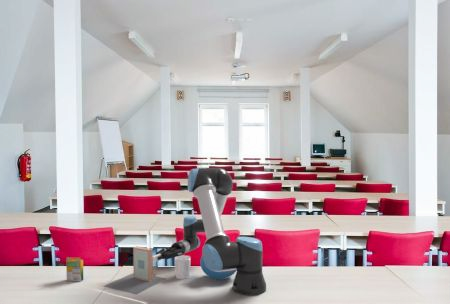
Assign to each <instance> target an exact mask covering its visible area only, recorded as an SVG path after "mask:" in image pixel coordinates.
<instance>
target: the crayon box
mask: <svg viewBox="0 0 450 304" xmlns="http://www.w3.org/2000/svg"><path fill="white" fill-rule="evenodd" d="M65 262H66V264H65V265H66V282H82V281H83V280H84V259H81V257H69V256H67V257H66V260H65Z"/></svg>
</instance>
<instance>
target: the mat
mask: <svg viewBox="0 0 450 304" xmlns="http://www.w3.org/2000/svg"><path fill="white" fill-rule="evenodd" d="M167 279H168V278H166V277H161V276H157V275H153V280H152V281H150V282H149V281H145V280H141V279H136V278H134V272H132V273H130V274H128V275H124V277H121V278H118V279H117V280H114V281H112V282H109V283H107V284H105V285H104V287H105V288H109V289H112V290H117V291H121V292H126V293H129V294H132V295H133V294H134V295H138V294H141V293H142V292H144V291H146V290H148V289H150V288H151V287H154V286H156V285H158V284H159V283H161V282H164V281H165V280H167Z"/></svg>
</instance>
